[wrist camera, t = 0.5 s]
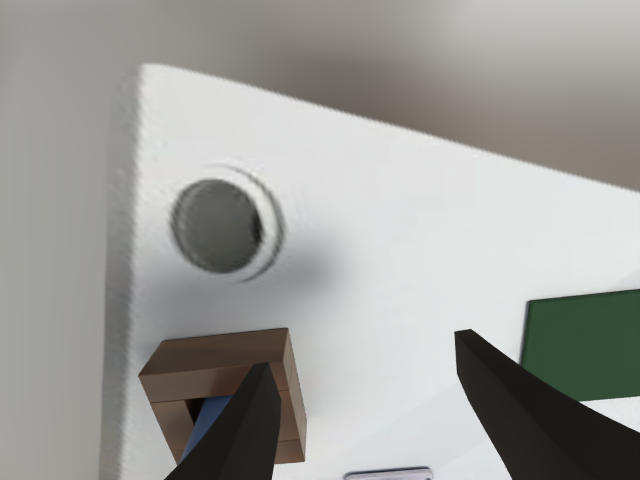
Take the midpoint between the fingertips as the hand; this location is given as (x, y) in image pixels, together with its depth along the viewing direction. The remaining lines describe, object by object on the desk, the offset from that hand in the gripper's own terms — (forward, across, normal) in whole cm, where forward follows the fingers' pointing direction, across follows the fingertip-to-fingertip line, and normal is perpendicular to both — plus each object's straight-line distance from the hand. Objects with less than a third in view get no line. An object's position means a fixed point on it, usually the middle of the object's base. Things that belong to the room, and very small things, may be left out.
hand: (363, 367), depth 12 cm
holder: (+10, +10, +9) cm, 17 cm away
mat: (+10, -17, +11) cm, 23 cm away
